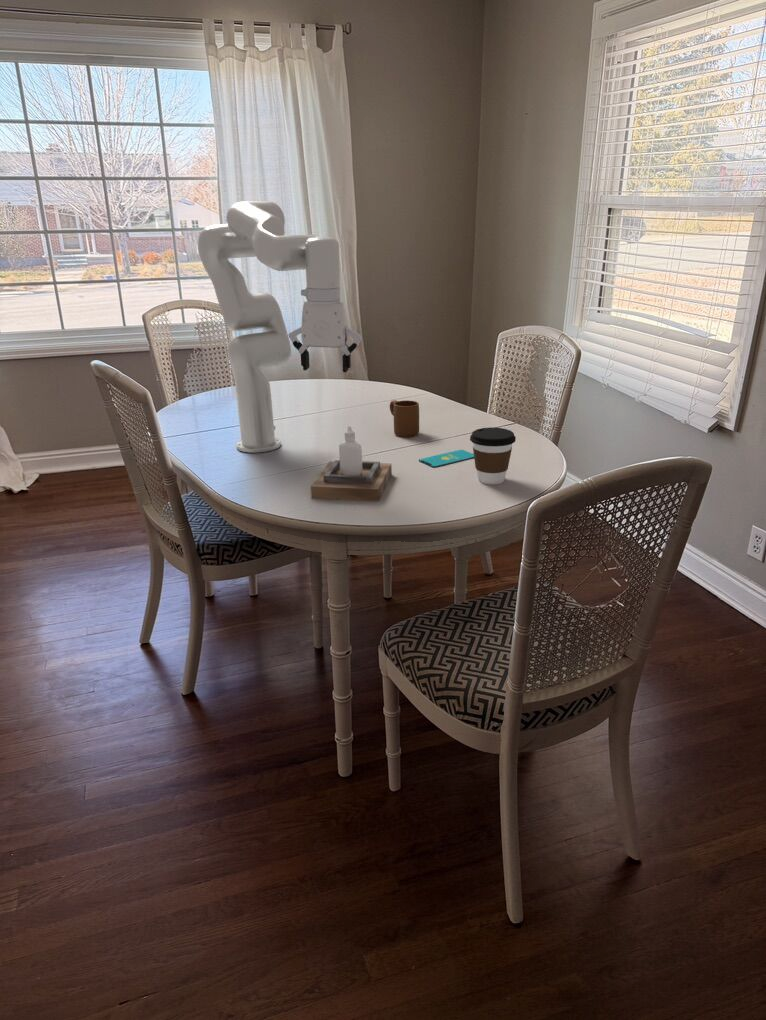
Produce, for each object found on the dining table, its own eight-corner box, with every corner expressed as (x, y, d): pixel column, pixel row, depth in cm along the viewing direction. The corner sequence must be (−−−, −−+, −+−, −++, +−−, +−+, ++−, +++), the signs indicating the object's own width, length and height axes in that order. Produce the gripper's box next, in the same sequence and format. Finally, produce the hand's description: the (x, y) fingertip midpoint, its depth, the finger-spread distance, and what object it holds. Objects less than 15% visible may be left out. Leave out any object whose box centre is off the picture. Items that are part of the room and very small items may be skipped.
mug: (380, 430, 216) (380, 400, 212) (401, 425, 219) (400, 396, 216) (403, 439, 206) (403, 408, 203) (424, 434, 210) (424, 403, 206)
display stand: (330, 472, 182) (329, 455, 180) (391, 474, 179) (391, 457, 177) (311, 498, 165) (310, 480, 164) (378, 501, 162) (378, 483, 161)
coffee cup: (459, 480, 174) (460, 433, 169) (487, 469, 181) (488, 424, 176) (495, 491, 166) (497, 442, 162) (522, 479, 173) (525, 432, 169)
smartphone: (478, 455, 190) (433, 466, 182) (478, 458, 190) (433, 469, 183) (461, 449, 196) (417, 459, 188) (461, 451, 196) (417, 462, 189)
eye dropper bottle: (354, 469, 174) (352, 422, 170) (364, 476, 170) (362, 427, 165) (338, 472, 172) (336, 424, 168) (347, 479, 168) (345, 430, 163)
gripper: (282, 296, 159) (286, 372, 166) (357, 298, 156) (358, 375, 163) (291, 292, 165) (295, 365, 172) (364, 294, 163) (364, 368, 170)
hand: (326, 370), depth 168 cm, fingers open, 9 cm apart
